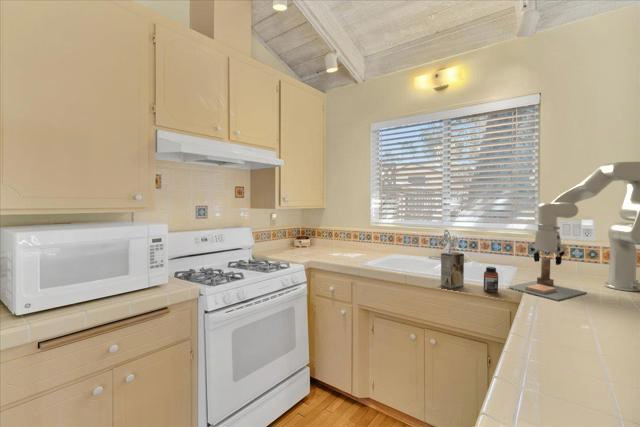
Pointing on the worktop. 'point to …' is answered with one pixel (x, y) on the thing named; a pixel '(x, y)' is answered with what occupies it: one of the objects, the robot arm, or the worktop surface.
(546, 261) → the wooden rubber stamp
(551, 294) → the mat
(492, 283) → the supplement bottle
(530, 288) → the tile
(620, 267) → the robot arm
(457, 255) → the coffee box
